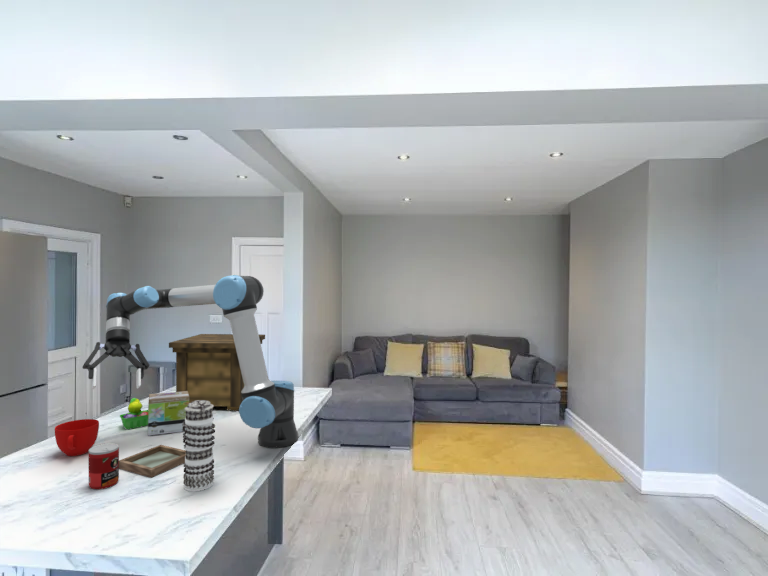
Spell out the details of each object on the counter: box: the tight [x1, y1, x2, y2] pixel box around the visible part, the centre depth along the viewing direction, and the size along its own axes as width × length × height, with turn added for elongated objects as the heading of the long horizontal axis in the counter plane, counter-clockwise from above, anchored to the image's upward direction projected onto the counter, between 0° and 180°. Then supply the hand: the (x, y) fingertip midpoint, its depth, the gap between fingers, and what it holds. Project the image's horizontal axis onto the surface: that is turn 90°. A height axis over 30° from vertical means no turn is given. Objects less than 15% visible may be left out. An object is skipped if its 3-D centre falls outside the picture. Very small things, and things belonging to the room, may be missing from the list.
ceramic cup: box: [54, 418, 100, 457], centre depth 155 cm, size 13×17×10 cm
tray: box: [119, 444, 186, 479], centre depth 147 cm, size 16×16×2 cm
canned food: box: [87, 442, 120, 490], centre depth 132 cm, size 8×8×11 cm
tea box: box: [147, 391, 189, 437], centre depth 181 cm, size 15×10×15 cm, turn 117°
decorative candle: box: [182, 400, 216, 492], centre depth 132 cm, size 9×9×25 cm
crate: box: [168, 333, 266, 412], centre depth 222 cm, size 35×35×33 cm
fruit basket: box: [119, 397, 148, 430], centre depth 186 cm, size 11×9×11 cm
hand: (116, 387), depth 152 cm, fingers open, 13 cm apart
